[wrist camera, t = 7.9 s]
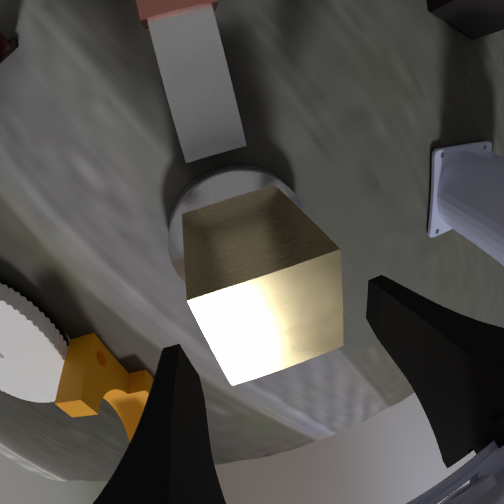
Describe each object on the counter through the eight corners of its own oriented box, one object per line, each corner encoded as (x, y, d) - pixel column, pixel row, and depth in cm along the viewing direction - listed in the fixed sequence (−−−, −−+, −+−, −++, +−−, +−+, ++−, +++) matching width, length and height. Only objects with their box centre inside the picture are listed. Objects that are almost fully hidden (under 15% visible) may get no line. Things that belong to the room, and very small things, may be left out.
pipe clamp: (177, 402, 26) (183, 457, 20) (141, 409, 26) (142, 462, 20) (111, 325, 20) (100, 396, 14) (70, 338, 19) (54, 403, 14)
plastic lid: (106, 367, 22) (103, 389, 20) (22, 391, 21) (17, 408, 19) (2, 240, 14) (-14, 258, 12) (-62, 300, 14) (-73, 316, 12)
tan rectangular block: (274, 184, 15) (340, 249, 9) (290, 262, 17) (343, 345, 12) (181, 213, 14) (187, 300, 9) (210, 288, 17) (231, 385, 11)
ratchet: (223, -85, 7) (239, -125, 3) (302, 259, 20) (332, 301, 16) (91, -53, 6) (70, -87, 2) (193, 294, 20) (199, 345, 16)
